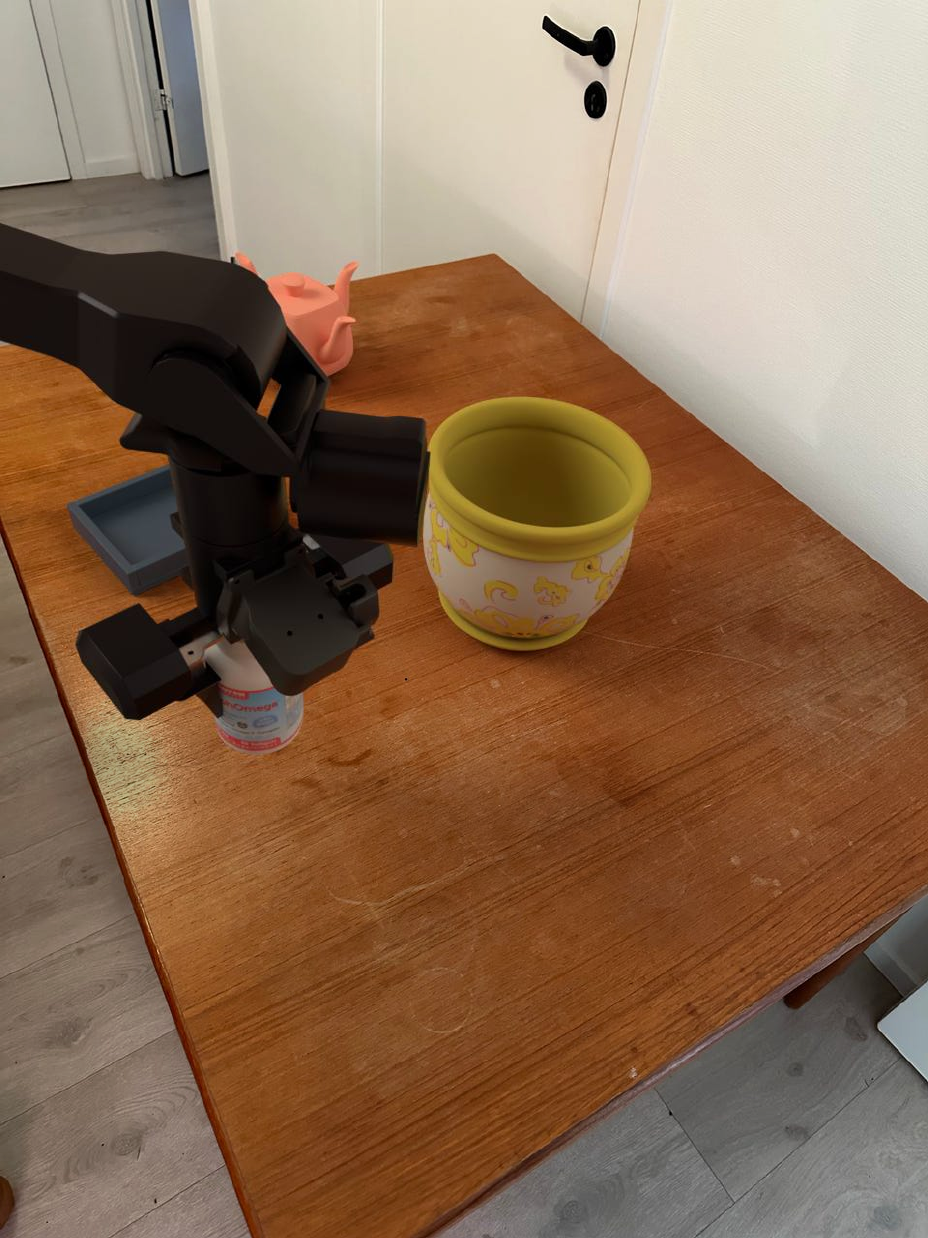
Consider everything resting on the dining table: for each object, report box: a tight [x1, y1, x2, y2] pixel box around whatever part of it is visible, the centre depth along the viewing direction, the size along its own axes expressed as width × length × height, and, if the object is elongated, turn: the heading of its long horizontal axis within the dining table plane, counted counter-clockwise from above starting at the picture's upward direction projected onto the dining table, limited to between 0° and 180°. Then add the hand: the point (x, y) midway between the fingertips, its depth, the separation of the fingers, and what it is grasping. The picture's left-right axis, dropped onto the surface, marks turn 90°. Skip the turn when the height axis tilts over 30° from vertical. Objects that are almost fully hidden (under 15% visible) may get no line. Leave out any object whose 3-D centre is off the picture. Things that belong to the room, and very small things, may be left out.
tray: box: [65, 463, 188, 597], centre depth 83 cm, size 16×12×3 cm
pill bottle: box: [204, 639, 305, 756], centre depth 57 cm, size 6×6×11 cm
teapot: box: [234, 252, 360, 377], centre depth 100 cm, size 14×14×11 cm
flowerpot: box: [422, 396, 652, 652], centre depth 75 cm, size 18×18×16 cm
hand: (257, 689), depth 58 cm, fingers closed on pill bottle, 6 cm apart
